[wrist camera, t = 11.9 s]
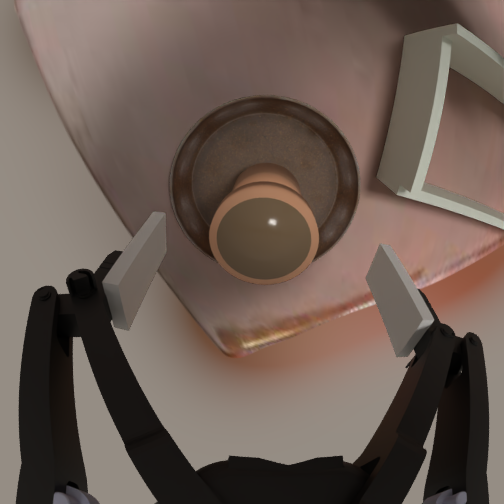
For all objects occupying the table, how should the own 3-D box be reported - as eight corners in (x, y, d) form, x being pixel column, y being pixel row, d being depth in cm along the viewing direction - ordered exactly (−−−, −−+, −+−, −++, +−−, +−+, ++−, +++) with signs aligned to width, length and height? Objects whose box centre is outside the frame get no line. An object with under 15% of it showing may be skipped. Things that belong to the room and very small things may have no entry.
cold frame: (404, 35, 17) (457, 23, 10) (537, 127, 18) (579, 147, 11) (376, 177, 26) (417, 214, 18) (510, 223, 27) (546, 255, 19)
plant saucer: (322, 73, 21) (330, 70, 18) (365, 232, 30) (374, 246, 27) (150, 138, 25) (138, 144, 22) (220, 276, 33) (217, 292, 31)
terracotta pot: (234, 150, 22) (216, 179, 16) (315, 167, 23) (333, 204, 16) (222, 221, 26) (204, 274, 19) (295, 236, 26) (301, 292, 20)
